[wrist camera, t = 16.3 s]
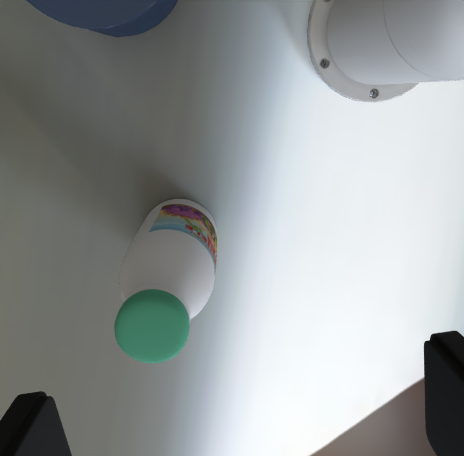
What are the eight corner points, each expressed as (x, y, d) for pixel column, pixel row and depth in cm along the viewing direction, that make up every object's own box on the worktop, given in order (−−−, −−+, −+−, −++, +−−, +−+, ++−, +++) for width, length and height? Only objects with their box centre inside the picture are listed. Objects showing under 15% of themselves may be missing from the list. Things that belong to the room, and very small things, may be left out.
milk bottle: (176, 280, 47) (144, 407, 28) (128, 227, 45) (59, 324, 26) (232, 238, 46) (239, 342, 27) (185, 182, 44) (156, 250, 25)
